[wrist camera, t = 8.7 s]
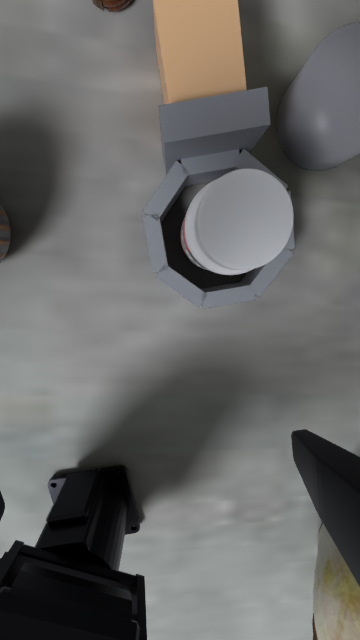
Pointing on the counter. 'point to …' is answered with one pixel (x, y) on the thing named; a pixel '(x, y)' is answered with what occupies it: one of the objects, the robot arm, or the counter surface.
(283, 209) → the pill bottle
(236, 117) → the octagonal ring stamp
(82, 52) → the counter surface
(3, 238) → the vase
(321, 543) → the sugar bowl
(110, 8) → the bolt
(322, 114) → the grey rounded lump
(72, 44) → the counter surface
